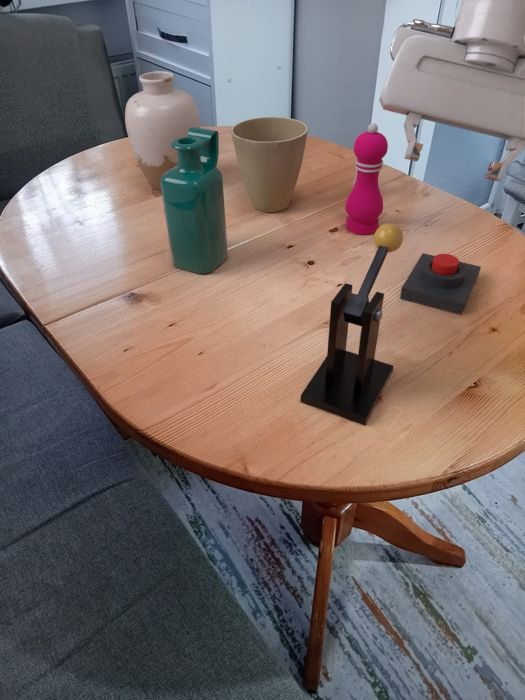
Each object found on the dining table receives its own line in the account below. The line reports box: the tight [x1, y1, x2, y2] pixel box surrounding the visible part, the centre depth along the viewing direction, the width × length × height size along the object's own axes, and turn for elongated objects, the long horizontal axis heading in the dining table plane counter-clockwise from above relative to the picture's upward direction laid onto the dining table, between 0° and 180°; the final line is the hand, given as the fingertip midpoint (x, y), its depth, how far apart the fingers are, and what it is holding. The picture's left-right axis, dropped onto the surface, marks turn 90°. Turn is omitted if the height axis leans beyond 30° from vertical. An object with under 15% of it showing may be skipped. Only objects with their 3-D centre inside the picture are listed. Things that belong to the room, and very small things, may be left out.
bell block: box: [399, 252, 482, 316], centre depth 89 cm, size 12×10×4 cm
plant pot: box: [230, 116, 309, 213], centre depth 110 cm, size 15×15×16 cm
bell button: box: [432, 253, 460, 275], centre depth 87 cm, size 4×4×2 cm
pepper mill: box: [344, 122, 389, 236], centre depth 100 cm, size 7×7×20 cm
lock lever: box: [343, 223, 404, 327], centre depth 66 cm, size 14×4×4 cm, turn 151°
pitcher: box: [161, 127, 229, 275], centre depth 92 cm, size 10×8×22 cm
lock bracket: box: [299, 282, 395, 426], centre depth 68 cm, size 11×9×15 cm
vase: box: [124, 70, 201, 192], centre depth 117 cm, size 16×16×23 cm
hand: (451, 169), depth 61 cm, fingers open, 8 cm apart
